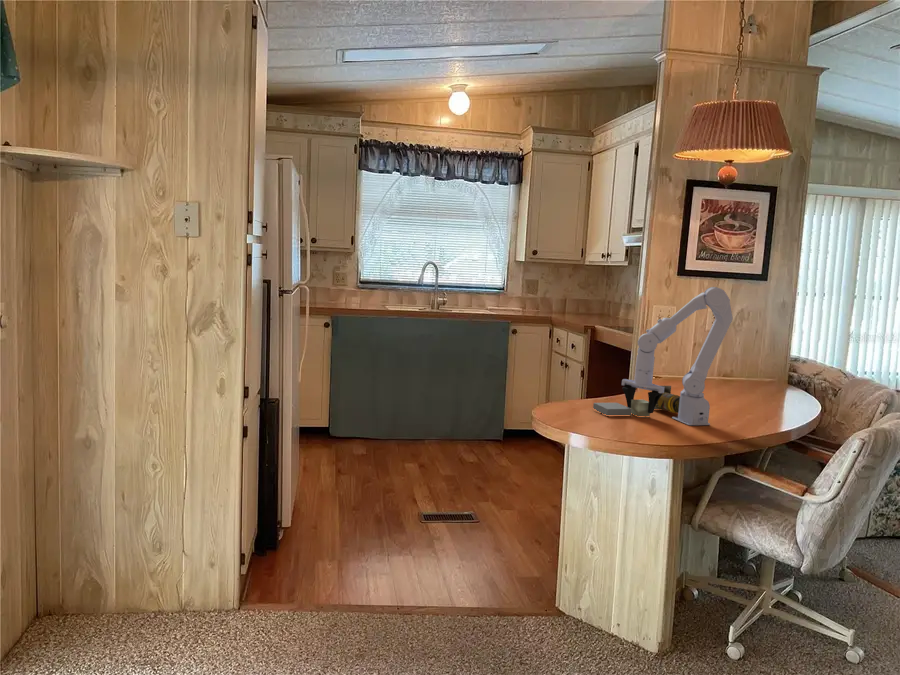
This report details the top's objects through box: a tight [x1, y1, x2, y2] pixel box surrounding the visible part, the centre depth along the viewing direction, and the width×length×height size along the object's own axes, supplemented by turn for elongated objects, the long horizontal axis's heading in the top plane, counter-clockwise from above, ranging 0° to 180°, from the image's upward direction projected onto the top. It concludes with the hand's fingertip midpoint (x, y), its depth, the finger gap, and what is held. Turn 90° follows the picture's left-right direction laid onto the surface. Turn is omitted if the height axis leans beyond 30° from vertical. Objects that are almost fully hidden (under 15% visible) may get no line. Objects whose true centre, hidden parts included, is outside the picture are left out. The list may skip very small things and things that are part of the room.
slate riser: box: [592, 402, 632, 416], centre depth 225 cm, size 9×9×3 cm
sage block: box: [631, 399, 651, 416], centre depth 224 cm, size 4×4×5 cm
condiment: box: [654, 385, 680, 414], centre depth 229 cm, size 7×8×12 cm
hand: (640, 410), depth 224 cm, fingers open, 7 cm apart
